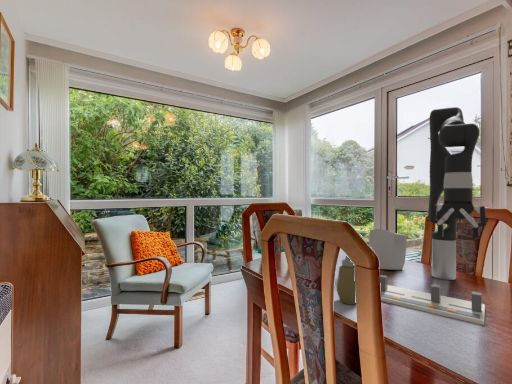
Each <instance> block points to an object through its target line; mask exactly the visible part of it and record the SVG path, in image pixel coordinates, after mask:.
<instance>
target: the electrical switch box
mask: <svg viewBox="0 0 512 384" xmlns="http://www.w3.org/2000/svg"><path fill="white" fill-rule="evenodd" d="M368 243H369V245H370V246H371V247H372V249H373V250H374V251H375V253H376V254H377V255H378V257H379V260H380V269H379V270H393V271H396V270H397V271H402V270H403V269H404V266H405V262H406V254H407V253H406V252H407V243H408V241H407V235H406V234H403V233H399V232H398V233H396V232H392V231H389V230H386V229H385V228H375V229H374V228H373V229H372V228H371V229H370V230H369V234H368Z"/></svg>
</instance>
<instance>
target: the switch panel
mask: <svg viewBox="0 0 512 384" xmlns="http://www.w3.org/2000/svg"><path fill="white" fill-rule="evenodd" d="M381 299H382V301H381V302H384V303H389V304H391V305H392V304H393V305H397V306H401V307H405V308H409V309H415V310H418V311H422V312H427V313H430V314H434V315H438V316H439V315H440V316H444V317H448V318H453V319H456V320H460V321H465V322H470V323H473V324H477V325H482V326H485V318H486V316H485V315H486V304H484V303H482V309H481V312H480V311H476V310H472V300H471V301H470V300H465V299H460V298H457V297H456V298H455V297H450V296H445V295H441V300H440V302H439V303H438V302H433V301H431V292H430V293H429V292H426V291H419V290H416V289H410V288H405V287H401V286H395V285H391V284H388V289H387V290H386V291H382V290H381Z"/></svg>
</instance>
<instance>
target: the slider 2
mask: <svg viewBox="0 0 512 384" xmlns="http://www.w3.org/2000/svg"><path fill="white" fill-rule="evenodd" d="M482 295H483V293H482V292H478V291H473V290H472V291H471V302H472V310H476V311H480V312H481V309H482V304H483V303H482V299H483V298H482Z"/></svg>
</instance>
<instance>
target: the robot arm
mask: <svg viewBox="0 0 512 384" xmlns="http://www.w3.org/2000/svg"><path fill="white" fill-rule="evenodd" d="M464 121H465V120H464V115H463V111H462V109H461V108H460V107H457V106H453V107H452V106H451V107H443V108H435V109H433V110H431V112H430V115H429V138H430V139H429V140H430V155H429V156H430V157H429V199H428V212H427V213H428V214H427V215H428V221H429V223H431V224H435V225H437V230H436V231H432V233H431V277H433V278H436V279H440V280H446V281H455V280H456V279H457V221H458V220H465V219H466V220H467V221H468V222H469V223H470V224H471V225H472V226H473V227H472V240H473V241H474V240H476V239H478V238H479V237H480V233H479V231H480V227H485V226H486V225H487V215H486V206H485V205H481V206H474V203H473V194H474V193H473V189H474V188H473V185H474V182H473V171H472V170H473V165H472V164H473V163H472V162H473V155H474V151H475V148H476V145H477V142H478V141H479V137H480V128H479V126H477V124H475V123H471V122H470V123H469V122H468V123H465V122H464ZM455 147H456V148H457V147H458V148H459V147H464V148H463V150H462V151H460V152H457V153H453V154H451V153H450V151H449V150H448V148H455ZM442 194H443V203H438V201H439V199H440V198H441V195H442ZM474 211H476V212H477V214H479V217H480V221H479V222H477V221H476V220H475V218H474V217H473V216H472V215H471V214H472V213H473V212H474ZM445 225H447V226H446V227H444V226H445Z"/></svg>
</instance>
